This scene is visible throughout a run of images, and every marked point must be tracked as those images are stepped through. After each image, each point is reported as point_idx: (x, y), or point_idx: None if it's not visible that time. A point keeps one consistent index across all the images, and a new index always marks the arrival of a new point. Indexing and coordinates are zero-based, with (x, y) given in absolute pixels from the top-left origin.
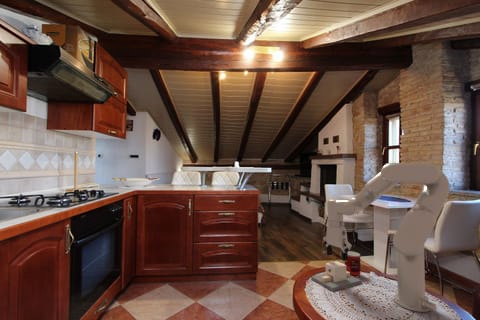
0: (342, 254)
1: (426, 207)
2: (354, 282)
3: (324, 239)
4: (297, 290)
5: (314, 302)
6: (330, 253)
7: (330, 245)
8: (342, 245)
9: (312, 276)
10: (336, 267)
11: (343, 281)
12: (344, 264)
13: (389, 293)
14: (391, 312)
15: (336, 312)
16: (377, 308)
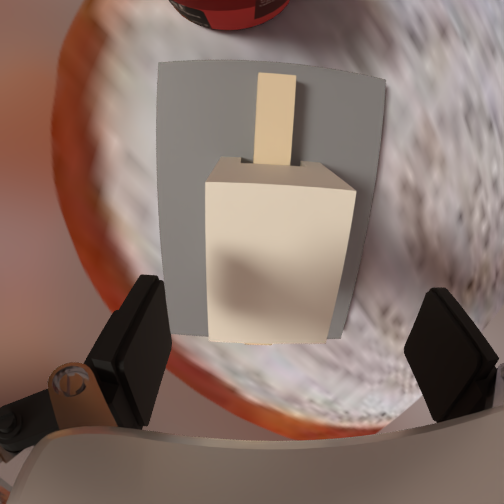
0: (436, 406)
1: None
2: (378, 155)
3: (4, 484)
4: (244, 418)
5: (338, 416)
6: (162, 324)
7: (100, 408)
8: (448, 431)
9: (174, 329)
10: (328, 325)
11: None
12: (332, 190)
13: (499, 92)
14: None
15: (411, 395)
16: (499, 273)
